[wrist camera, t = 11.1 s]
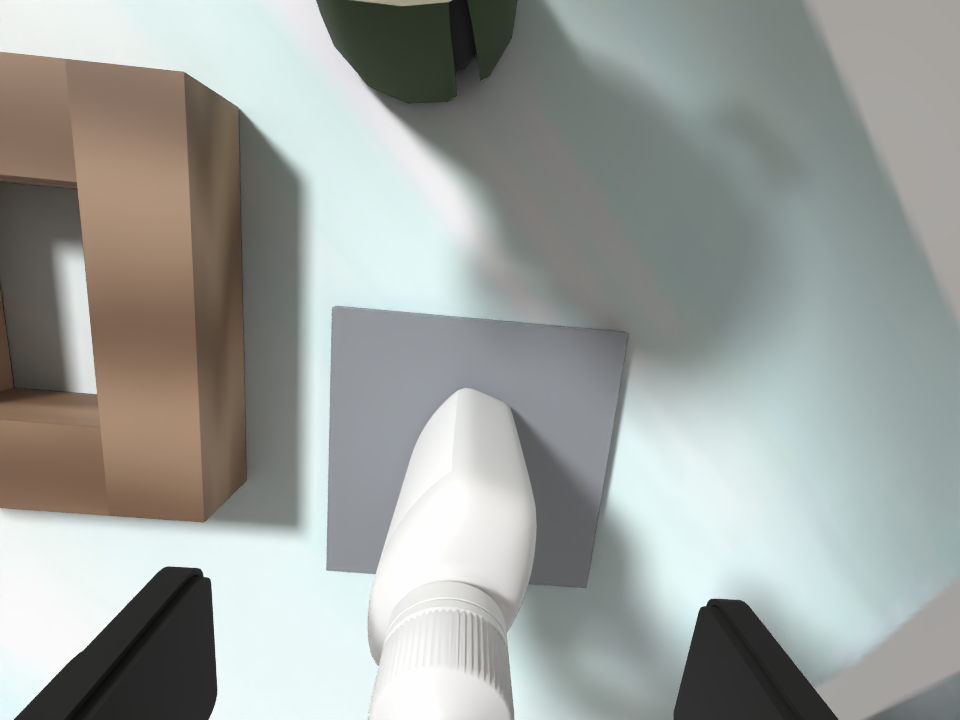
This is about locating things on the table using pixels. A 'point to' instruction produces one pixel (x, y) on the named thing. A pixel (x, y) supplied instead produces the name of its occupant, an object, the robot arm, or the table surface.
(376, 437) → the slate mat
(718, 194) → the table surface
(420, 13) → the character mug
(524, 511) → the eye dropper bottle
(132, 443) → the walnut dock
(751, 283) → the table surface
